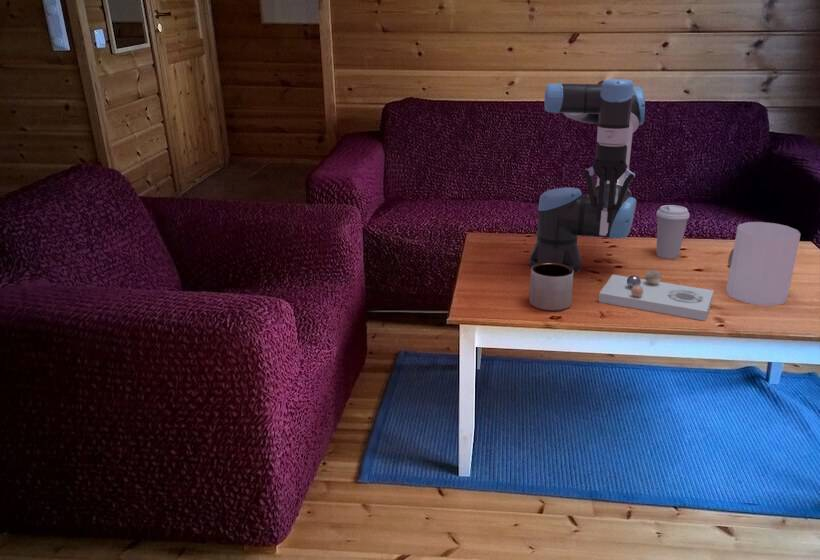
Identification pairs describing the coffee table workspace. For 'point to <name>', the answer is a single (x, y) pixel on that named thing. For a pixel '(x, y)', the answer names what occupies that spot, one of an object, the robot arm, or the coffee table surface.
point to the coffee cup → (670, 230)
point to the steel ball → (633, 281)
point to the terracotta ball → (637, 291)
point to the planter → (551, 286)
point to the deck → (659, 298)
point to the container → (762, 263)
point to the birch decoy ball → (653, 276)
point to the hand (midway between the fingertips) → (603, 233)
